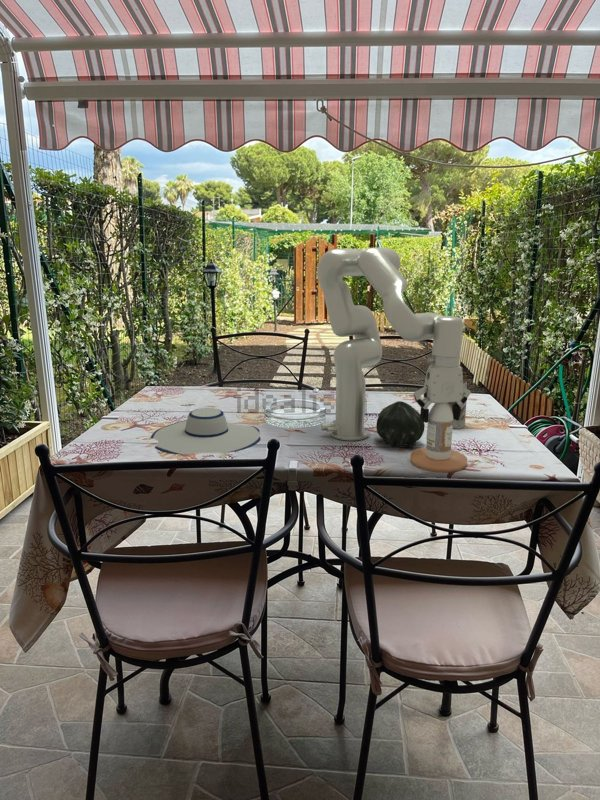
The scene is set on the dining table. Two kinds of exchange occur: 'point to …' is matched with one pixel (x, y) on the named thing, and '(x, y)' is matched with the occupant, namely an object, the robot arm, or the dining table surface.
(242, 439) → the sun hat
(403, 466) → the dining table surface
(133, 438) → the dining table surface
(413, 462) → the terracotta dish
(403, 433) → the squash
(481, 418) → the dining table surface
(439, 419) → the bath foam
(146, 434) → the dining table surface
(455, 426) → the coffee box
